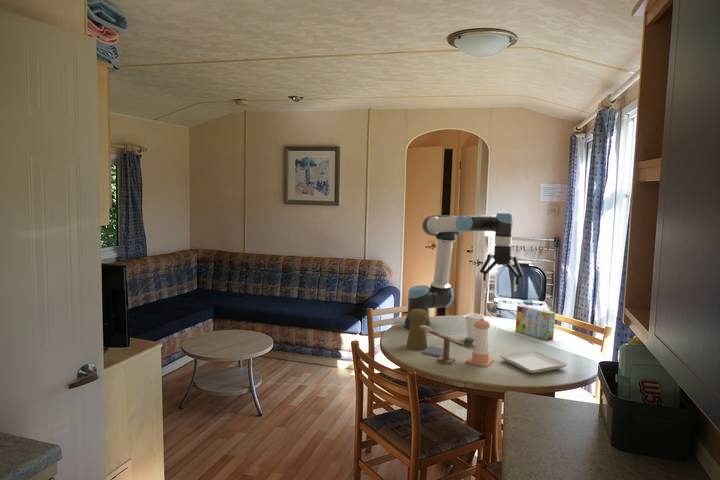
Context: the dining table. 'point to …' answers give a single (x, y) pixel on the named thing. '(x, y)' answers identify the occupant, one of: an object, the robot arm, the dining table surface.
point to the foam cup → (472, 324)
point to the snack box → (535, 322)
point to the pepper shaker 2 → (481, 341)
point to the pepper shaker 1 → (417, 330)
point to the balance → (447, 340)
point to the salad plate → (533, 361)
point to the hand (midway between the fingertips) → (500, 289)
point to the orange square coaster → (484, 364)
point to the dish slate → (433, 351)
